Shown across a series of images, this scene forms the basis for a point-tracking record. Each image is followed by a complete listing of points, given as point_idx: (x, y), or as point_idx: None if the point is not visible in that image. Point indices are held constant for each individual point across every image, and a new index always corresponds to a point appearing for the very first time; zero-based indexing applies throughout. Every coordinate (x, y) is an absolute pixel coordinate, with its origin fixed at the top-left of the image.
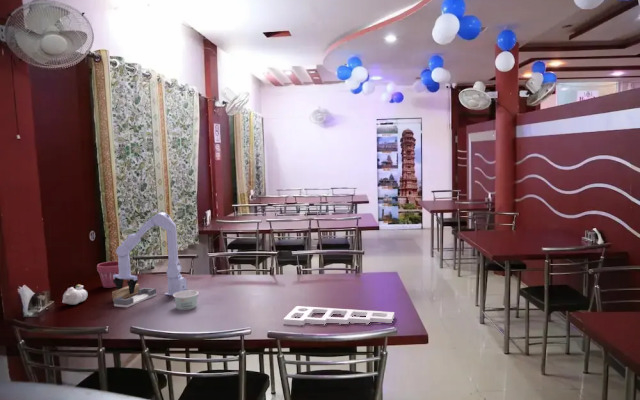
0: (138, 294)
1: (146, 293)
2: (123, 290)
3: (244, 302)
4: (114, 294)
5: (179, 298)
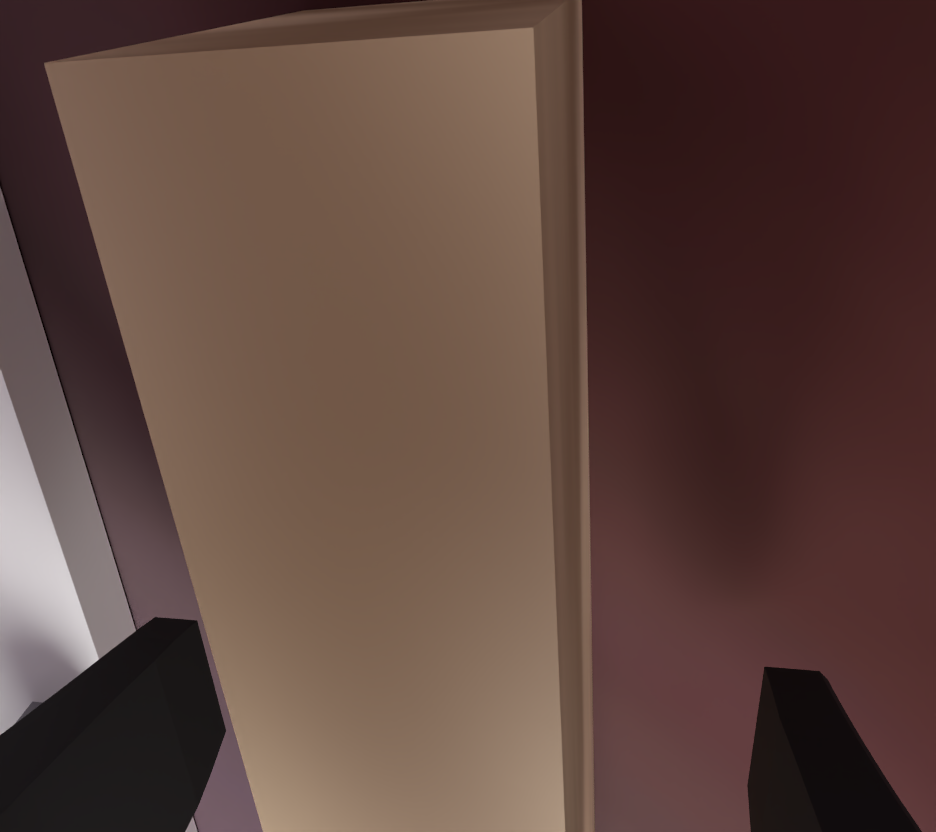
0: None
1: None
2: (229, 609)
3: None
4: (357, 23)
5: None
